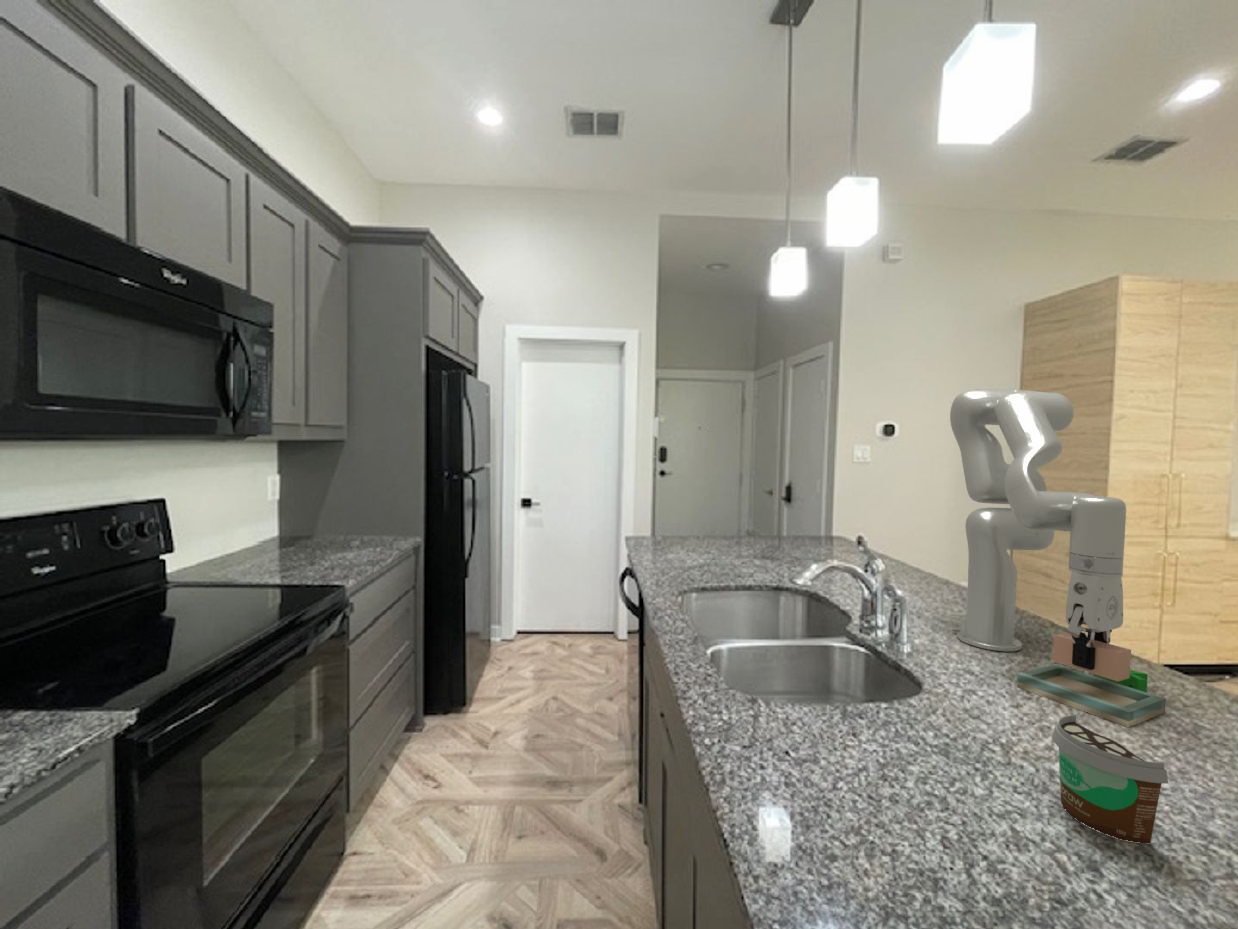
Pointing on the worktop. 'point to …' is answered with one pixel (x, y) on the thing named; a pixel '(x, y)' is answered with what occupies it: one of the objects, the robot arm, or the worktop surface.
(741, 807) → the worktop surface
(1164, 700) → the nest board
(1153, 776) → the food container
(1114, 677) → the salmon pink rectangular block
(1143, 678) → the pipe clamp
